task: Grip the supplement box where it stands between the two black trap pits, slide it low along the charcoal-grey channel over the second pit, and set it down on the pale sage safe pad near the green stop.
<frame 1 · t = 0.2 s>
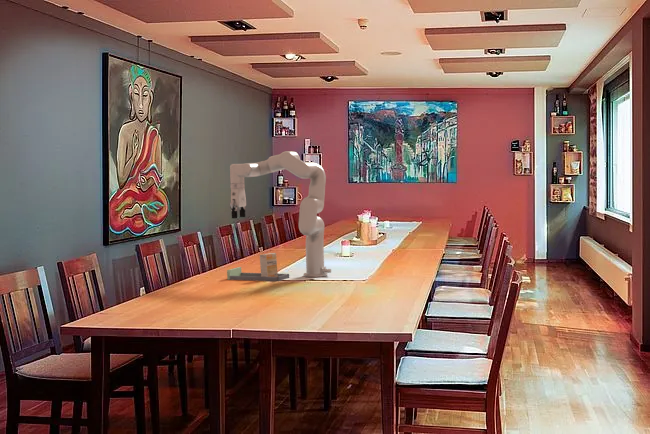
hand: (238, 217, 427), 31 cm above the table, fingers open, 9 cm apart
supplement box: (269, 279, 405), resting in trap channel
trap channel: (259, 278, 407), on the table
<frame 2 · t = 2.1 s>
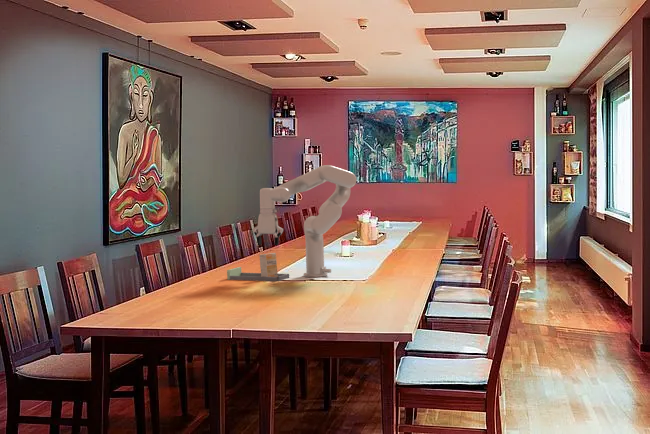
hand: (268, 244, 404), 18 cm above the table, fingers open, 9 cm apart
nothing on the table moved.
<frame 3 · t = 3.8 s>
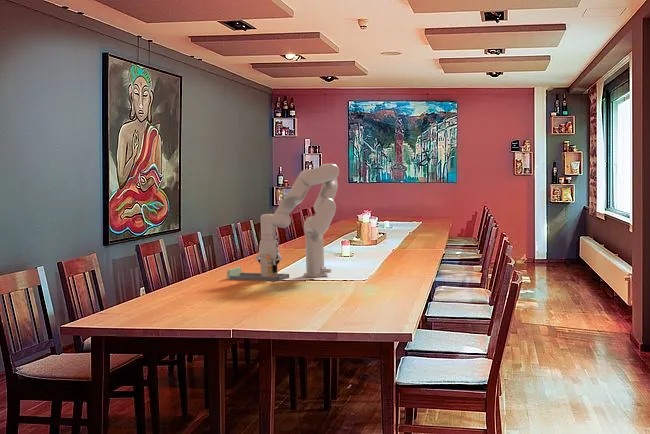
hand: (269, 272, 405), 4 cm above the table, fingers closed on supplement box, 5 cm apart
supplement box: (269, 279, 405), resting in trap channel, touching gripper
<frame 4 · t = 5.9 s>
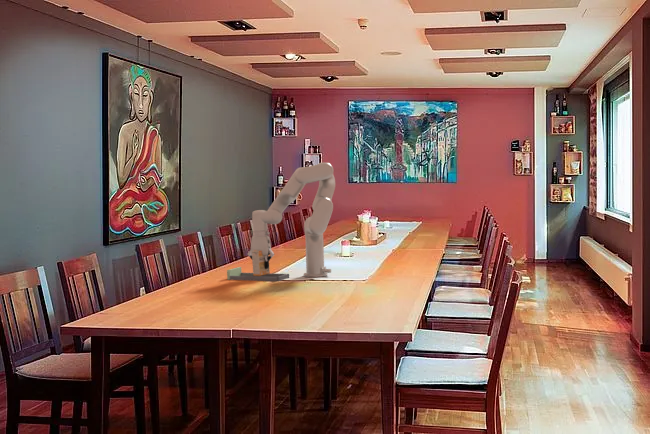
hand: (261, 268, 407), 6 cm above the table, fingers closed on supplement box, 5 cm apart
supplement box: (261, 275, 407), point 2 cm above the table, touching gripper
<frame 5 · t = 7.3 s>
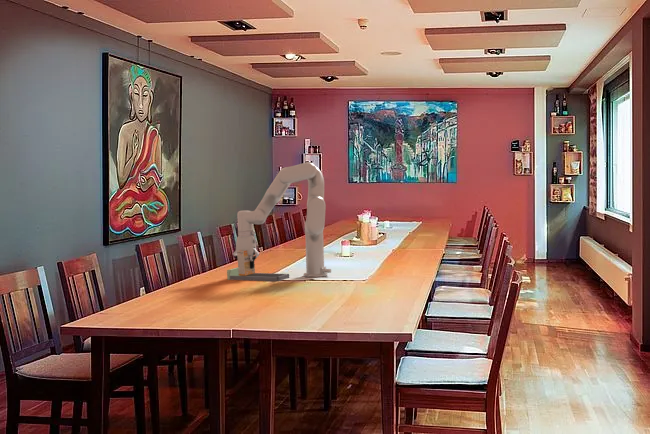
hand: (246, 268, 410), 5 cm above the table, fingers closed on supplement box, 5 cm apart
supplement box: (247, 274, 410), point 2 cm above the table, touching gripper
when the fingers open (4 cm above the table, at t = 8.3 s): supplement box stays where it is, resting on trap channel.
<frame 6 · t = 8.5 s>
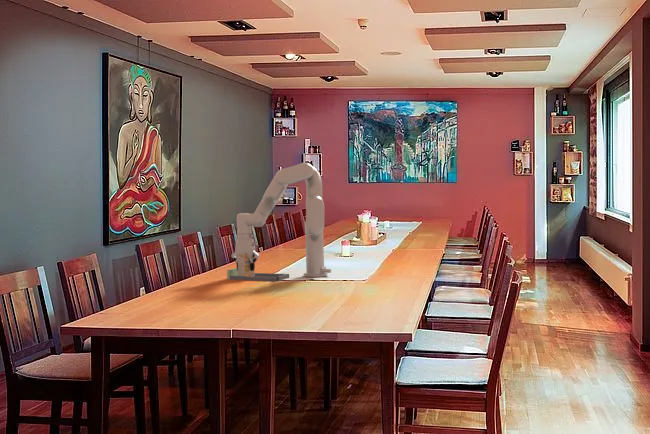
hand: (245, 270, 410), 4 cm above the table, fingers open, 7 cm apart
supplement box: (246, 278, 411), resting on trap channel
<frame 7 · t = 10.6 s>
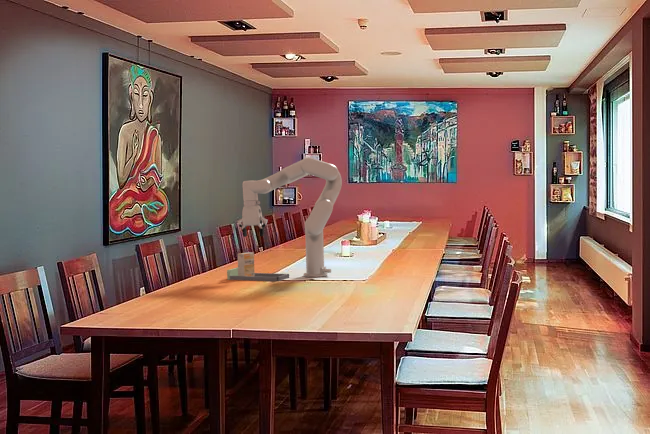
hand: (253, 236, 411), 22 cm above the table, fingers open, 9 cm apart
nothing on the table moved.
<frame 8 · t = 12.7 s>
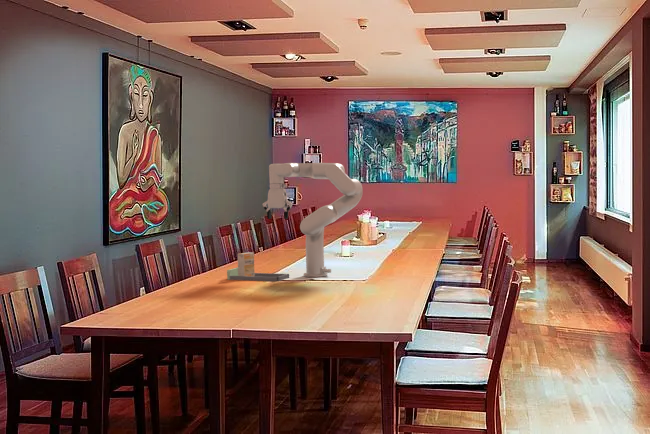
hand: (277, 218, 417), 30 cm above the table, fingers open, 9 cm apart
nothing on the table moved.
at the end: supplement box inside the target area (0.4 cm from its centre), resting on trap channel; supplement box tilted 0°; the gripper is holding nothing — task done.
